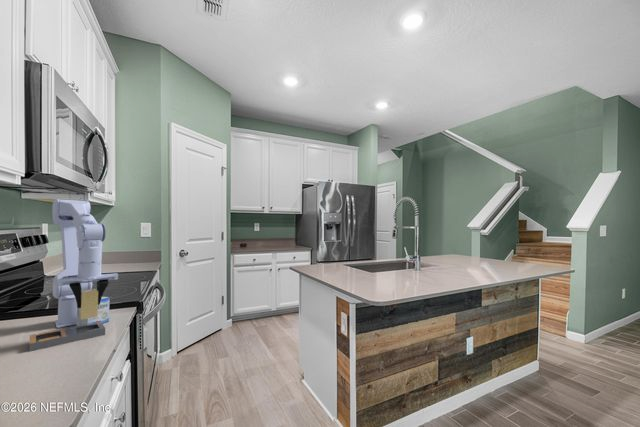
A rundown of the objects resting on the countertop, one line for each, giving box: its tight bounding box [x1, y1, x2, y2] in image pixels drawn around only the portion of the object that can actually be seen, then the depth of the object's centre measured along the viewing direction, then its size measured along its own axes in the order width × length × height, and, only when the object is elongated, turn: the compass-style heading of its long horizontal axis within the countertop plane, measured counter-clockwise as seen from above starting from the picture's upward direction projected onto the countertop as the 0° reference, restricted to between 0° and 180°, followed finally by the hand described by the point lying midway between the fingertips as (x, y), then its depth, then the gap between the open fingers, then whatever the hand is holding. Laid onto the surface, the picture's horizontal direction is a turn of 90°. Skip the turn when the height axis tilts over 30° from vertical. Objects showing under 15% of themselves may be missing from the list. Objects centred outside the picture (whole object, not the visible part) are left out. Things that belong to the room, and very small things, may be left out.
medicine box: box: [76, 296, 111, 327], centre depth 97 cm, size 8×4×9 cm, turn 168°
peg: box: [79, 288, 98, 319], centre depth 88 cm, size 4×4×8 cm
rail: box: [28, 322, 106, 352], centre depth 85 cm, size 8×16×2 cm, turn 136°
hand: (88, 305), depth 88 cm, fingers closed on peg, 4 cm apart
